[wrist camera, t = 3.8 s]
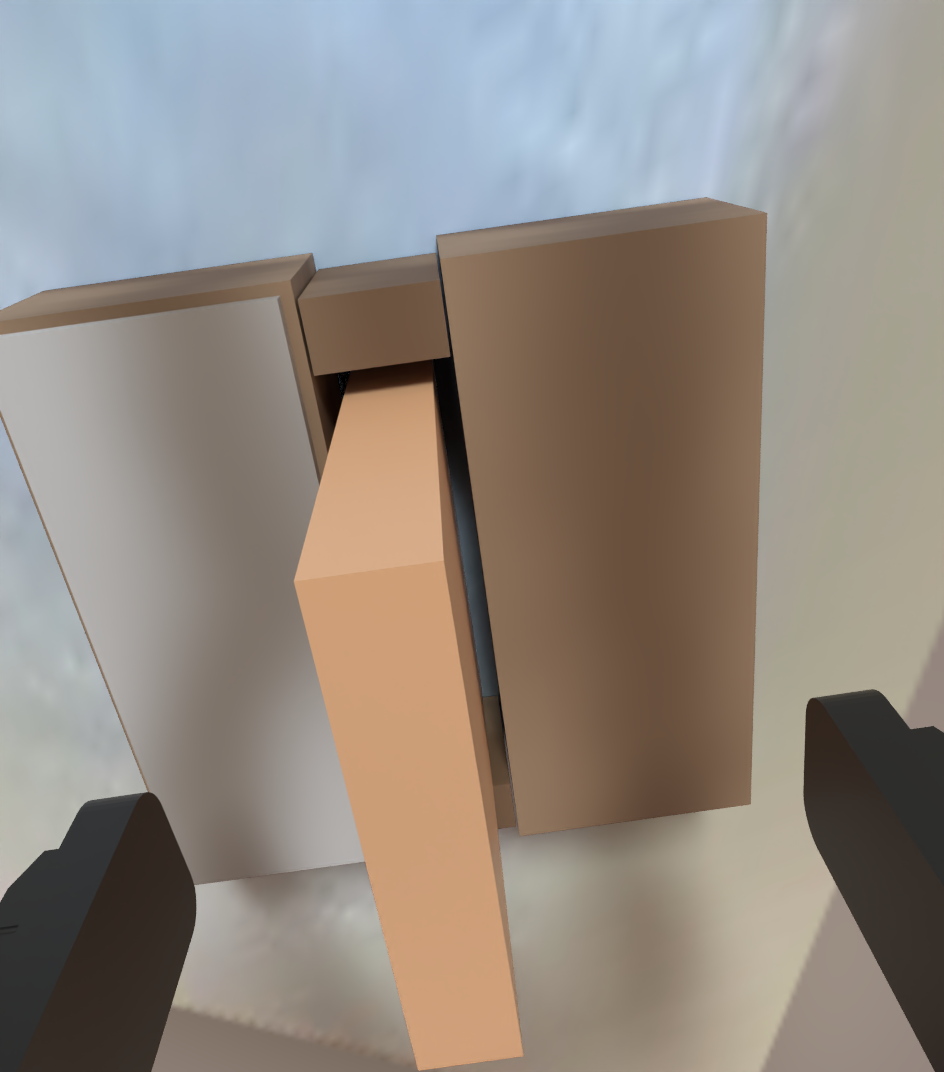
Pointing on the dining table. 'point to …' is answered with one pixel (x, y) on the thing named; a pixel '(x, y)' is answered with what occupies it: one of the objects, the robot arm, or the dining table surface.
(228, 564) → the brown slotted wooden block
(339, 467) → the peach rectangular slab
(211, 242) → the dining table surface
